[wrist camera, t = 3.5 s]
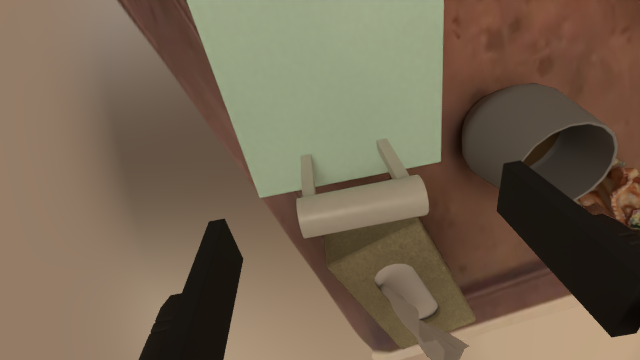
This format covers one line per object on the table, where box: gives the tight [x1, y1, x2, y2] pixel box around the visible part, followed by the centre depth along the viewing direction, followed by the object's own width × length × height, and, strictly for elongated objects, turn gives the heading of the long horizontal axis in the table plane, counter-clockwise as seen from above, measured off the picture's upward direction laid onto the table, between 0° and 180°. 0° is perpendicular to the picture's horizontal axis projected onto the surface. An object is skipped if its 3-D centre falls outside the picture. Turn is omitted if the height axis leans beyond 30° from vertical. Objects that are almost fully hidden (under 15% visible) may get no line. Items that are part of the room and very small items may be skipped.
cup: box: [462, 83, 618, 201], centre depth 27 cm, size 10×9×10 cm
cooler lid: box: [187, 0, 444, 238], centre depth 14 cm, size 19×13×8 cm
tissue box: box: [323, 178, 476, 360], centre depth 33 cm, size 19×10×16 cm, turn 32°
